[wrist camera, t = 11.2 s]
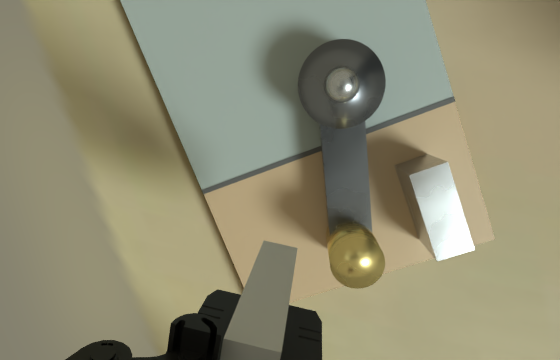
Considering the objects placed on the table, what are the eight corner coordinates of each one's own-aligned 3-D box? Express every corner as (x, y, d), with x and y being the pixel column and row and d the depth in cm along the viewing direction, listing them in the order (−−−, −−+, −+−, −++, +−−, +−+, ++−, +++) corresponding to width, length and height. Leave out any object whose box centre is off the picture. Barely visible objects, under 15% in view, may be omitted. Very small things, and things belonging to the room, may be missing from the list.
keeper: (427, 153, 21) (448, 161, 18) (450, 229, 22) (474, 249, 19) (394, 165, 21) (408, 175, 18) (418, 239, 22) (437, 261, 19)
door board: (367, -168, 19) (371, -187, 18) (485, 232, 23) (495, 239, 22) (110, -41, 21) (98, -50, 20) (257, 303, 25) (255, 313, 24)
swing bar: (295, 52, 20) (292, 39, 16) (373, 42, 20) (390, 26, 16) (315, 258, 23) (316, 290, 19) (385, 253, 22) (402, 285, 18)
